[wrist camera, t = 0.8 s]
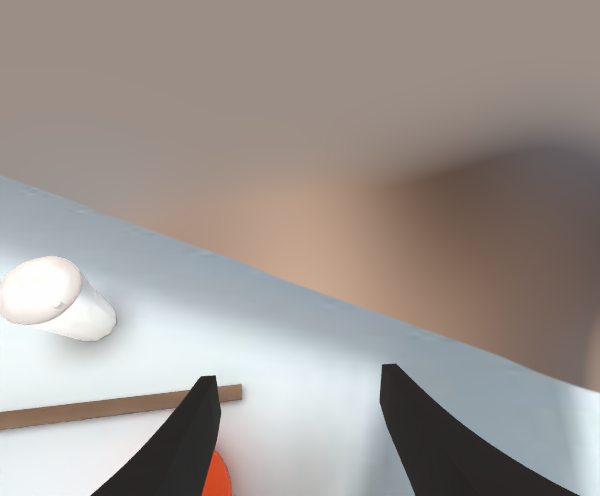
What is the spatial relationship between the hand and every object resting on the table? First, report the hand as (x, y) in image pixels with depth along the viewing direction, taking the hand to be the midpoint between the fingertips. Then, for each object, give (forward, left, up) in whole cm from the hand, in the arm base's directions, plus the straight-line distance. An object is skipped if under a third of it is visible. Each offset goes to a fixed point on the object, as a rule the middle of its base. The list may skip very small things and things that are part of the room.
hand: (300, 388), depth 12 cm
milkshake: (+8, +15, -14) cm, 22 cm away
